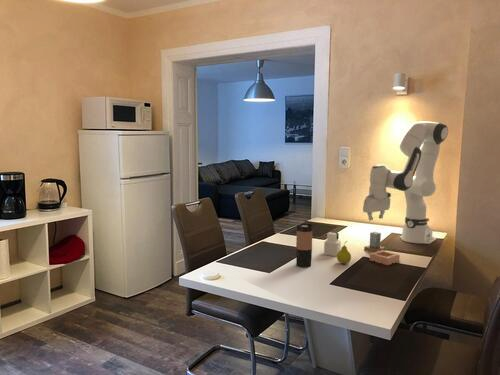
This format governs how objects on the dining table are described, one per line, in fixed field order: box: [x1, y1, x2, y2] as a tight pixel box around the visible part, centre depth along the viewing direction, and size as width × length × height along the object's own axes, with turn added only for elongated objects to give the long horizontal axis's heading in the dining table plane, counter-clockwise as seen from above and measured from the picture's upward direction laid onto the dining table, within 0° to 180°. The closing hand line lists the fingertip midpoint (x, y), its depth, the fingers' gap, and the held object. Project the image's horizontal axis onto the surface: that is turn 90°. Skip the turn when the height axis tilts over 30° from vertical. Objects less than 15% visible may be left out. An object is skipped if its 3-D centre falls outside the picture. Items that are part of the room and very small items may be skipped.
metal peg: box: [369, 231, 382, 248], centre depth 223 cm, size 4×4×8 cm
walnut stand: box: [363, 244, 386, 253], centre depth 224 cm, size 8×8×2 cm
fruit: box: [336, 240, 352, 265], centre depth 200 cm, size 7×7×12 cm
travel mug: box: [295, 223, 313, 268], centre depth 196 cm, size 8×8×20 cm
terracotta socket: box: [369, 250, 401, 266], centre depth 205 cm, size 10×10×4 cm
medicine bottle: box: [323, 231, 342, 257], centre depth 216 cm, size 7×7×12 cm
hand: (375, 219), depth 221 cm, fingers open, 8 cm apart
